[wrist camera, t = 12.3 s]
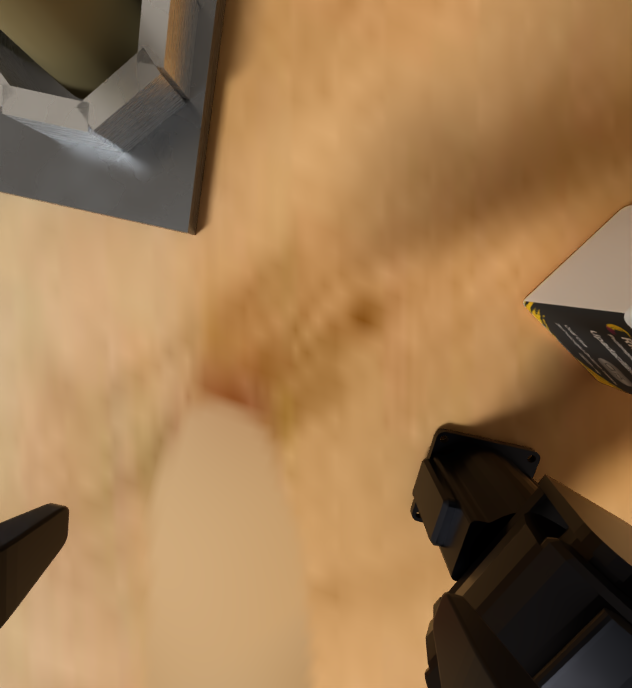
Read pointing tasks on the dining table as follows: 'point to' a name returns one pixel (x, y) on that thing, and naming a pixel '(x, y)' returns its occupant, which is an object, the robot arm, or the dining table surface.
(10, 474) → the dining table surface
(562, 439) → the dining table surface
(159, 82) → the socket block
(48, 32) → the cork
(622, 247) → the medicine bottle
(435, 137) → the dining table surface
